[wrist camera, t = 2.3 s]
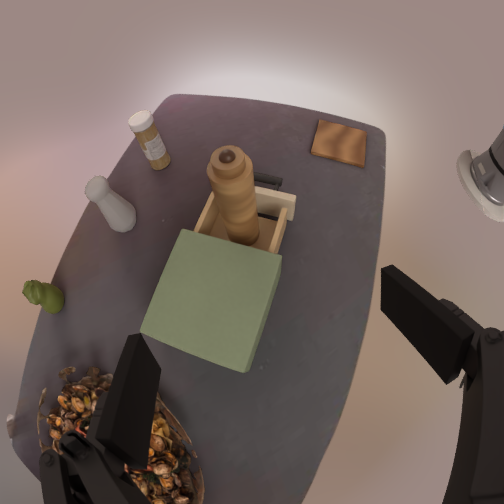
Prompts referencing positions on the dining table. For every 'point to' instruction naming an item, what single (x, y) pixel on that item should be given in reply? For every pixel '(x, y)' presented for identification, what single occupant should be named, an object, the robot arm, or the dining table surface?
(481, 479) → the robot arm
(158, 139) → the spice jar
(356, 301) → the dining table surface
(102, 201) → the salt shaker
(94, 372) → the food dish
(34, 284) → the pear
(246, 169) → the pepper mill
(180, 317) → the cabinet
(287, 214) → the drawer
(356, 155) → the square wooden board
